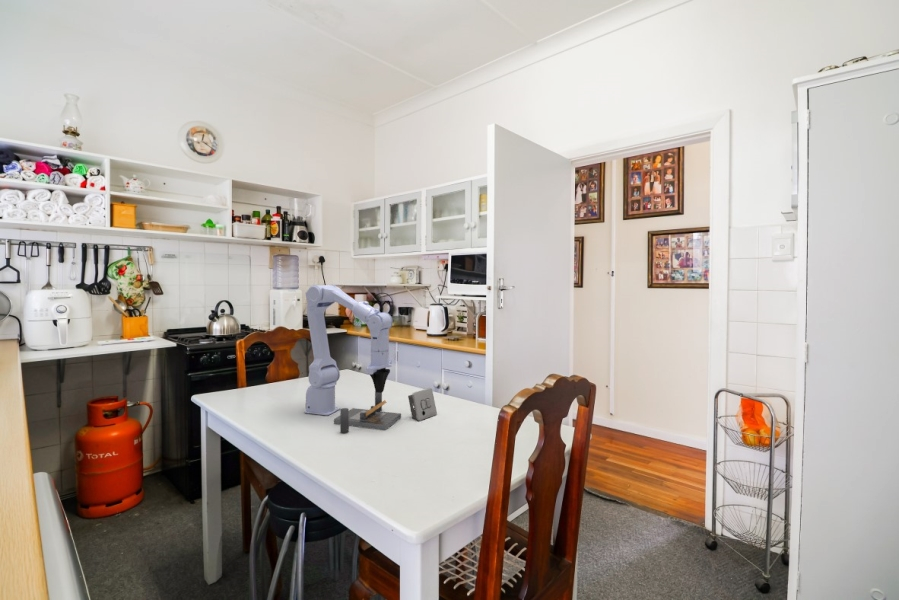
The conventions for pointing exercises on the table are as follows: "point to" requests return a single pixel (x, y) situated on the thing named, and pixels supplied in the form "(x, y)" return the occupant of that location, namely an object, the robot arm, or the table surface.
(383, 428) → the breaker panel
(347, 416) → the post
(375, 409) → the breaker paddle
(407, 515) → the table surface
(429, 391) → the electrical switch
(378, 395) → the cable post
